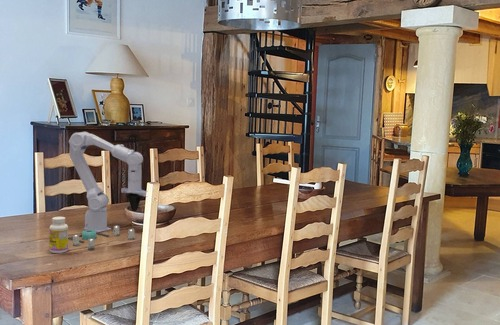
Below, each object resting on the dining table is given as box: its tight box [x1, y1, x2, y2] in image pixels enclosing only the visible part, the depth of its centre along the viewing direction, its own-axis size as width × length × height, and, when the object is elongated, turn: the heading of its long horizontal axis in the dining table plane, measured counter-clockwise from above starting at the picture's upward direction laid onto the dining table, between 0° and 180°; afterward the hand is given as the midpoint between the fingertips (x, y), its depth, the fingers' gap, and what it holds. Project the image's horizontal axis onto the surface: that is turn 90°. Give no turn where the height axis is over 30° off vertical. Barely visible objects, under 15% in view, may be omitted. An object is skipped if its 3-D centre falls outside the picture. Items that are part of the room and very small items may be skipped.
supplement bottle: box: [48, 216, 69, 254], centre depth 201 cm, size 7×7×13 cm
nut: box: [81, 229, 97, 241], centre depth 222 cm, size 6×6×3 cm
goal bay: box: [68, 232, 110, 244], centre depth 222 cm, size 9×14×1 cm
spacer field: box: [72, 224, 135, 251], centre depth 217 cm, size 11×23×4 cm, turn 147°
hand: (134, 210), depth 235 cm, fingers closed
